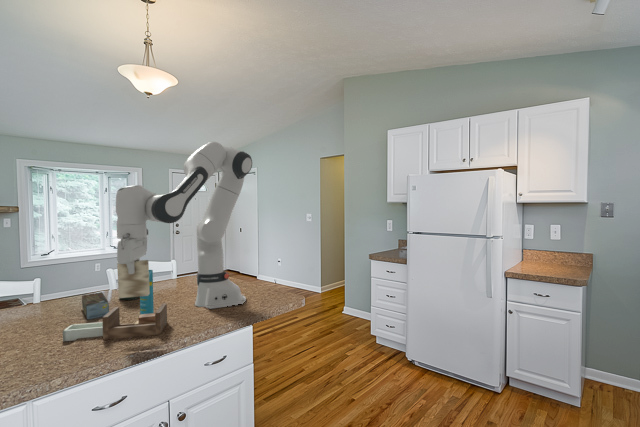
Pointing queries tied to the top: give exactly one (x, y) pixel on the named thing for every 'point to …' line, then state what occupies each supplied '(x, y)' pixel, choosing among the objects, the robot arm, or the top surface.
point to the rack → (132, 325)
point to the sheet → (133, 280)
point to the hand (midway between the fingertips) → (133, 272)
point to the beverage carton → (95, 305)
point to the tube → (147, 298)
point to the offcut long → (143, 323)
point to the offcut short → (147, 318)
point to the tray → (83, 331)
